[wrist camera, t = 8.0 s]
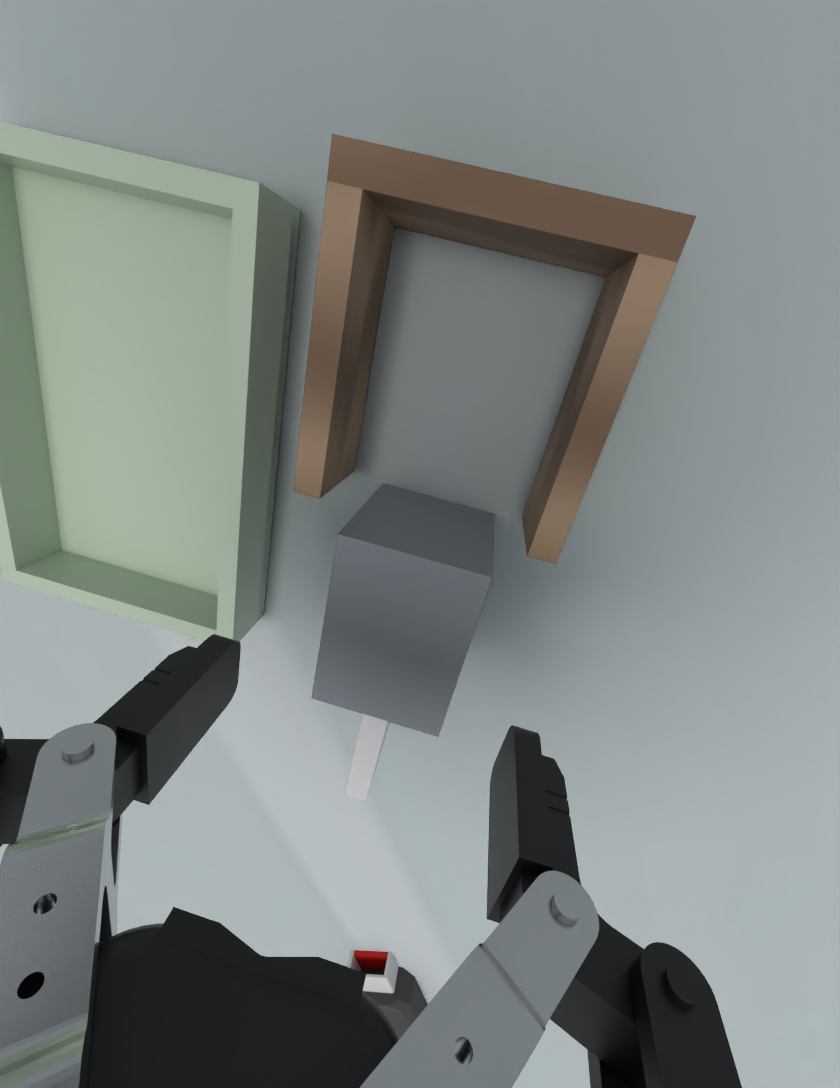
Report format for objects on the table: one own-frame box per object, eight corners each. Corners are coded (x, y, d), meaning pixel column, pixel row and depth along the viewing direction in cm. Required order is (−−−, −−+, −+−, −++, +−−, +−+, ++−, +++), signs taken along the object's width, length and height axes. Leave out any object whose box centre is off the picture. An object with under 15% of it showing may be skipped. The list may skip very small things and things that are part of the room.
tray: (5, 141, 17) (-92, 99, 14) (300, 211, 16) (259, 182, 13) (59, 554, 24) (3, 580, 21) (263, 614, 23) (232, 649, 21)
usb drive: (386, 1024, 40) (378, 1069, 37) (342, 942, 35) (330, 986, 33) (443, 1029, 38) (439, 1077, 36) (404, 945, 34) (396, 992, 32)
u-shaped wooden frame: (372, 186, 15) (332, 133, 12) (647, 250, 15) (696, 216, 11) (331, 465, 19) (292, 491, 16) (545, 523, 19) (555, 564, 15)
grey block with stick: (383, 483, 19) (337, 534, 14) (494, 513, 19) (492, 577, 14) (341, 695, 25) (296, 792, 19) (428, 721, 24) (407, 827, 19)
